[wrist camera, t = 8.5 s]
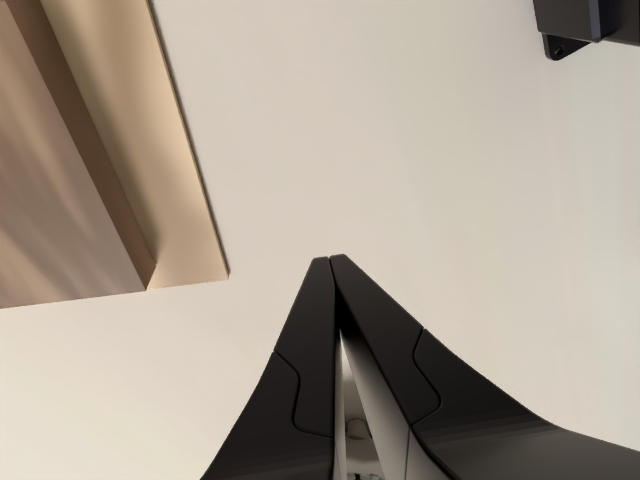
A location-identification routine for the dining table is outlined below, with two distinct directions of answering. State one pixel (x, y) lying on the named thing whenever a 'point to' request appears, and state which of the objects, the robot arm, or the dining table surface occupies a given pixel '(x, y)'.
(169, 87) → the light tan wooden board
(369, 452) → the piggy bank
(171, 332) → the dining table surface
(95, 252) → the brown wooden slab
